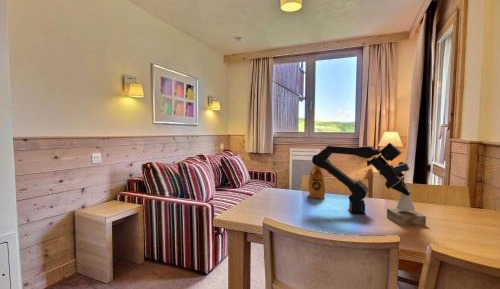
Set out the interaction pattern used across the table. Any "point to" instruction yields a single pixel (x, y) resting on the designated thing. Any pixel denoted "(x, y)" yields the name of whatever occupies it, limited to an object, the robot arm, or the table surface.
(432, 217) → the table surface
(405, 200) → the flask
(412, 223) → the walnut block
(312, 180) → the coffee package
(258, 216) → the table surface
